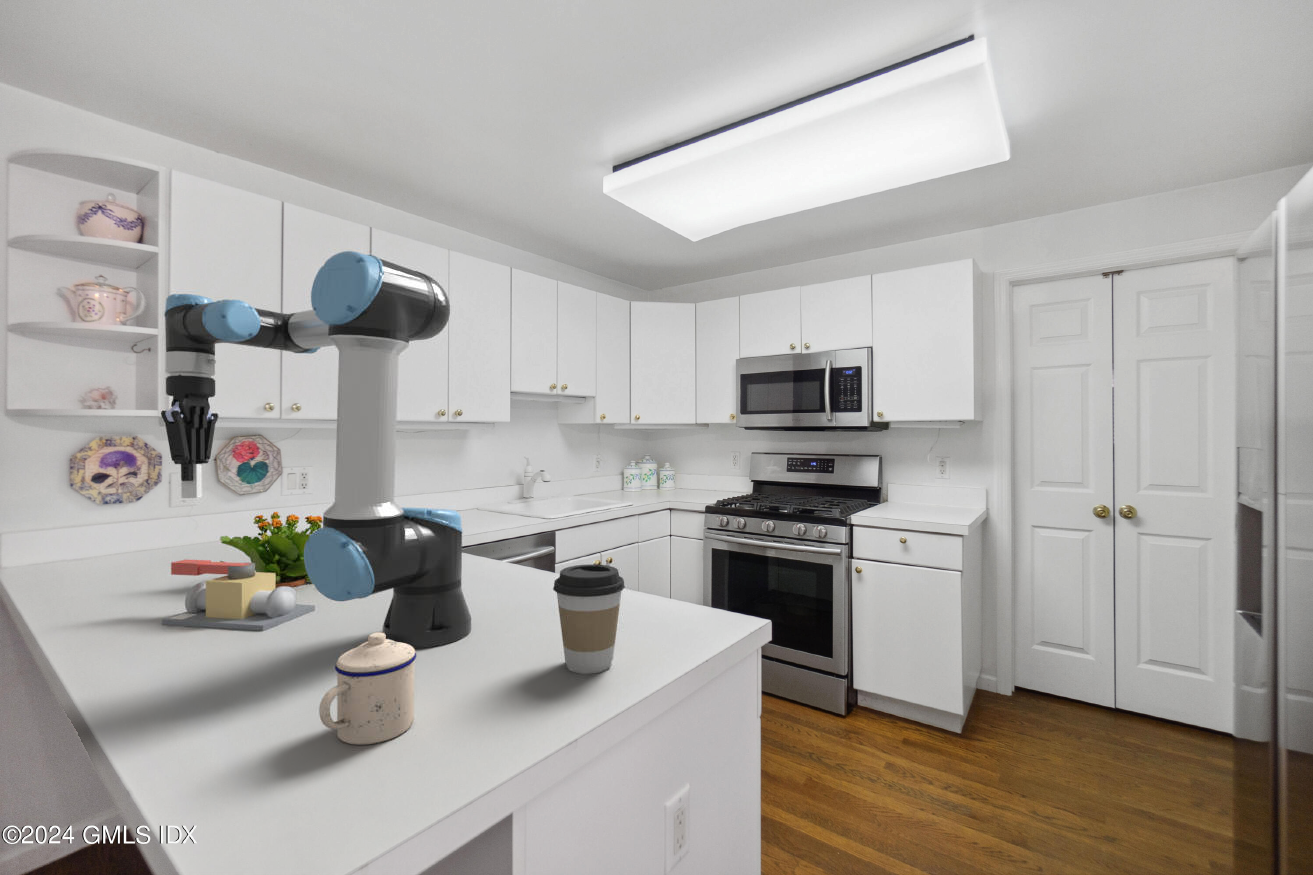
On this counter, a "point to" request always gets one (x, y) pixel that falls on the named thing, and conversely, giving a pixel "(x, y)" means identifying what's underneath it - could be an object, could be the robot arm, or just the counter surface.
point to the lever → (213, 568)
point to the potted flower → (278, 548)
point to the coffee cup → (589, 615)
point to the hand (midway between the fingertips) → (191, 497)
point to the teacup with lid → (372, 692)
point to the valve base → (239, 604)
